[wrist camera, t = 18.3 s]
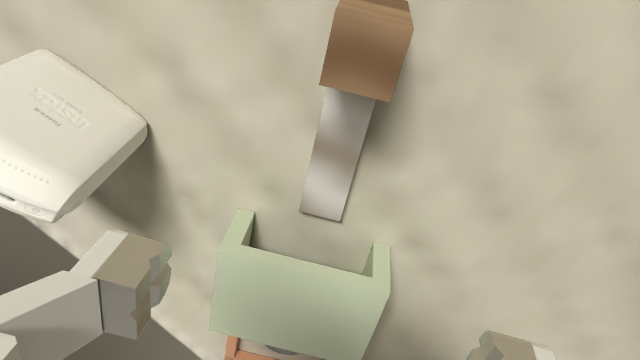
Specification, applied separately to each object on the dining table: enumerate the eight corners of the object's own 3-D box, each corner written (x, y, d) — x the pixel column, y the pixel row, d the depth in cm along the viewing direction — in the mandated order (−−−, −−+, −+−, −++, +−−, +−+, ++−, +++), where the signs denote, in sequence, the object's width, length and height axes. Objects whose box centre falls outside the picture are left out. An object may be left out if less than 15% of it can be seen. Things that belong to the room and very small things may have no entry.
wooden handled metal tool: (347, -14, 28) (335, 9, 22) (407, 1, 28) (413, 28, 22) (298, 204, 38) (279, 267, 31) (343, 215, 38) (333, 280, 31)
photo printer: (158, 122, 36) (64, 210, 25) (136, 156, 38) (40, 250, 27) (42, 37, 33) (-117, 95, 23) (24, 78, 35) (-129, 149, 25)
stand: (389, 246, 39) (390, 293, 34) (361, 318, 44) (358, 367, 40) (238, 208, 39) (217, 249, 34) (228, 284, 44) (208, 330, 40)
